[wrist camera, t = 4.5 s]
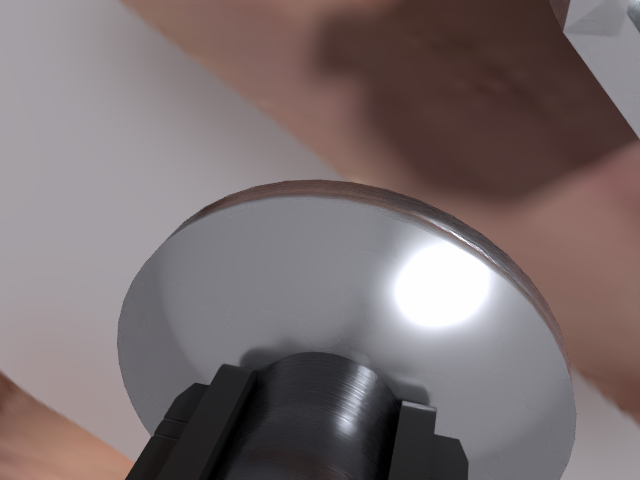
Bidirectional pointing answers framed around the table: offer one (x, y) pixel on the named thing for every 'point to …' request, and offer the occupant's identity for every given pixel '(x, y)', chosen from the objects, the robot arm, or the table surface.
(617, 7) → the pot
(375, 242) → the lid
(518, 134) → the table surface
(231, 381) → the robot arm
